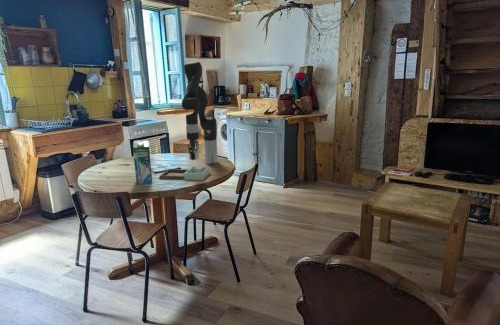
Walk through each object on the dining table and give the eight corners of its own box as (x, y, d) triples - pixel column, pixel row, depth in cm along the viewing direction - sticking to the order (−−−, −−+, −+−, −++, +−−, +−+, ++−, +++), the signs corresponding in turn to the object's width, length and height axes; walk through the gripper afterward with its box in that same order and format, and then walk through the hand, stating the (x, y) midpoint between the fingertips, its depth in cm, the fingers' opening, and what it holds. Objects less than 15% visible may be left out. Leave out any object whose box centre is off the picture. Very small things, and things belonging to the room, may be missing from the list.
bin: (192, 173, 230) (192, 166, 229) (209, 173, 229) (209, 167, 227) (184, 180, 215) (183, 173, 214) (202, 180, 213) (202, 173, 212)
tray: (169, 172, 233) (168, 169, 233) (192, 173, 231) (191, 169, 230) (159, 179, 218) (159, 175, 218) (184, 180, 216) (183, 176, 215)
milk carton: (136, 185, 208) (132, 143, 202) (137, 181, 217) (133, 141, 211) (152, 183, 210) (148, 142, 204) (152, 179, 219) (148, 140, 213)
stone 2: (196, 173, 227) (196, 167, 226) (203, 173, 227) (203, 167, 226) (194, 175, 223) (194, 168, 222) (201, 175, 222) (201, 168, 221)
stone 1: (192, 157, 218) (191, 150, 217) (198, 158, 217) (198, 150, 216) (189, 159, 214) (189, 152, 213) (196, 159, 213) (196, 152, 212)
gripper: (190, 129, 219) (192, 156, 223) (182, 133, 205) (184, 161, 209) (202, 129, 218) (203, 156, 222) (194, 133, 204) (196, 161, 208)
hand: (194, 158), depth 215 cm, fingers closed on stone 1, 4 cm apart
